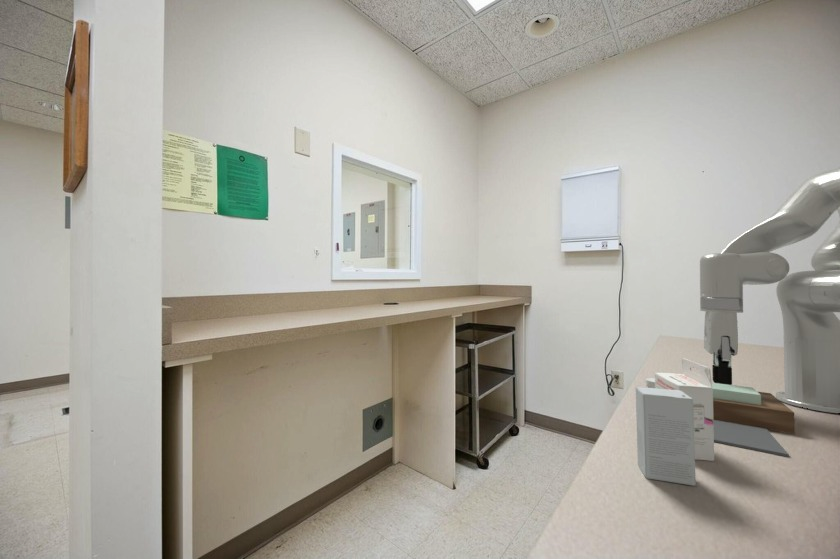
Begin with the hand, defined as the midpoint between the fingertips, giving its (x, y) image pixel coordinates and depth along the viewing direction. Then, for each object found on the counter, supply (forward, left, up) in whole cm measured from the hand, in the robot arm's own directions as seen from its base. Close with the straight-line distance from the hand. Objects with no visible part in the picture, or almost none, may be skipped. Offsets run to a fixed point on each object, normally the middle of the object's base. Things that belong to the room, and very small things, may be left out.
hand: (722, 383), depth 78 cm
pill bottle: (+22, -13, -5) cm, 26 cm away
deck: (+7, 0, -5) cm, 8 cm away
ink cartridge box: (+33, -10, -5) cm, 35 cm away
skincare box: (+45, -13, -5) cm, 47 cm away
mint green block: (+9, 0, -1) cm, 9 cm away
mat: (+21, -2, -5) cm, 21 cm away
